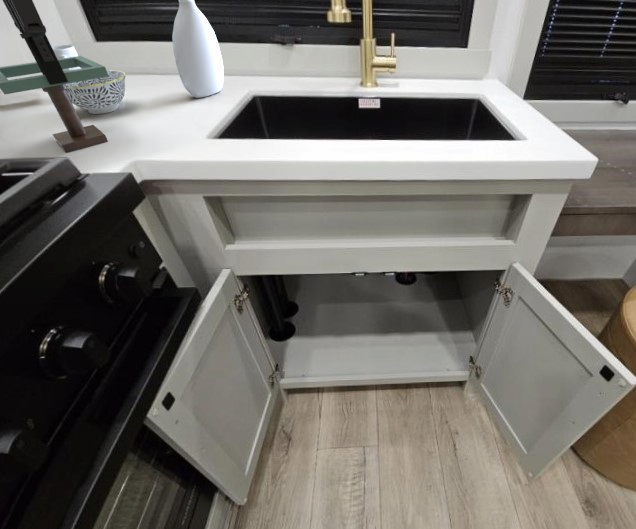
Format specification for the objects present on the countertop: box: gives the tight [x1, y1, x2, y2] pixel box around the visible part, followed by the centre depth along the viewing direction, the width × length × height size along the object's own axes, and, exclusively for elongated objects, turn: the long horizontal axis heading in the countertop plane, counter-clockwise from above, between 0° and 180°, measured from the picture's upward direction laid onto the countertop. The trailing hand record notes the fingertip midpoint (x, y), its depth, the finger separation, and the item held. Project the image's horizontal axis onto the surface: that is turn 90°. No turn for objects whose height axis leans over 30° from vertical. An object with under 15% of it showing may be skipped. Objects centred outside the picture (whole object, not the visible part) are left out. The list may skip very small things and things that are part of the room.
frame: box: [0, 55, 109, 95], centre depth 60 cm, size 16×16×2 cm
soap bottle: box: [171, 0, 225, 99], centre depth 84 cm, size 14×8×27 cm, turn 145°
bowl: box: [65, 69, 126, 115], centre depth 81 cm, size 16×16×8 cm
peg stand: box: [41, 84, 109, 153], centre depth 65 cm, size 8×8×11 cm
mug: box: [51, 44, 82, 71], centre depth 87 cm, size 10×7×12 cm, turn 33°
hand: (57, 81), depth 56 cm, fingers closed on frame, 2 cm apart
